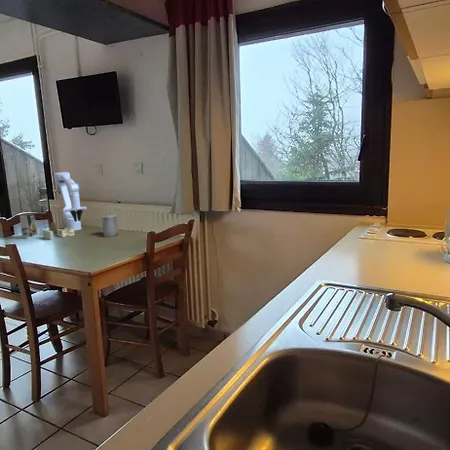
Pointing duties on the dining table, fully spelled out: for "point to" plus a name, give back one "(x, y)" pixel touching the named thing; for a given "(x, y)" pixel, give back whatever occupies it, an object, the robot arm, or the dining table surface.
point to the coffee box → (28, 225)
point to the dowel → (53, 227)
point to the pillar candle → (110, 225)
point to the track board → (48, 234)
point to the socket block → (65, 232)
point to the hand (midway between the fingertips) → (77, 221)
